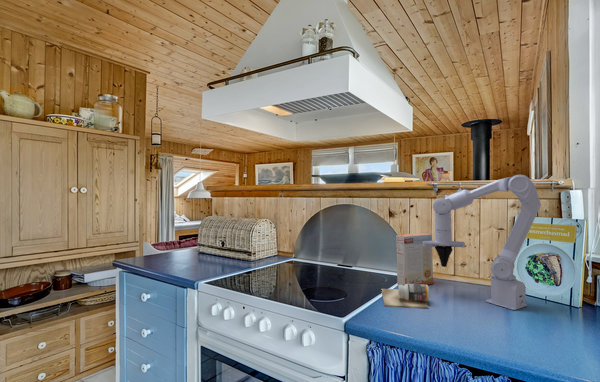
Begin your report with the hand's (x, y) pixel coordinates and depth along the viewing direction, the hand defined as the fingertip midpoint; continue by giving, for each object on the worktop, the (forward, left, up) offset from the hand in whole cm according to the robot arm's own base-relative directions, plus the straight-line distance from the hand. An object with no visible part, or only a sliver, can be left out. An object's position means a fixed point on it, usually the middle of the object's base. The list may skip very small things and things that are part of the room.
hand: (443, 266), depth 119 cm
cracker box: (+14, 0, -11) cm, 18 cm away
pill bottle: (-4, +13, -7) cm, 15 cm away
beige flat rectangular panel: (+4, +17, -10) cm, 21 cm away
